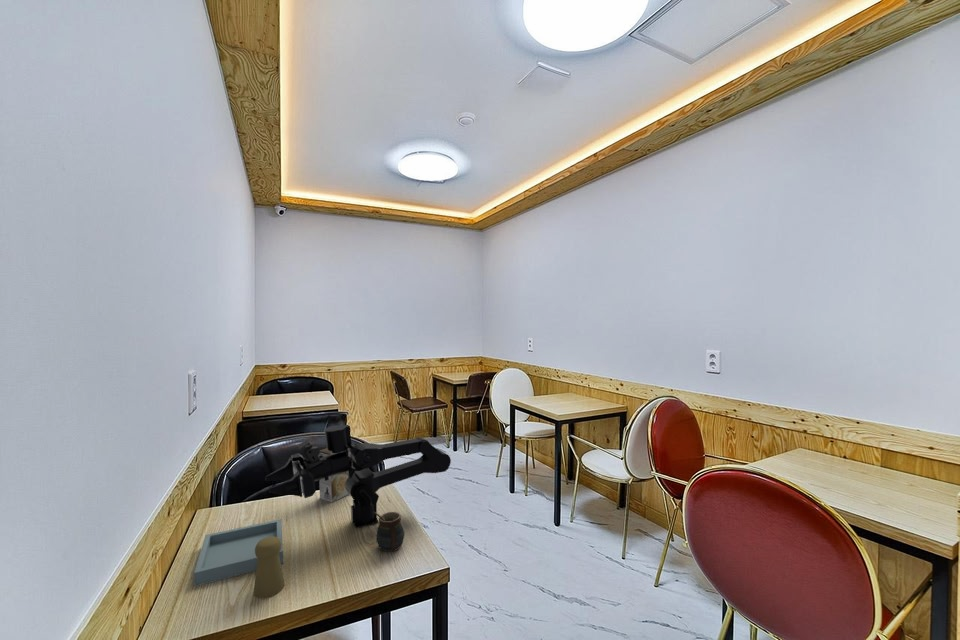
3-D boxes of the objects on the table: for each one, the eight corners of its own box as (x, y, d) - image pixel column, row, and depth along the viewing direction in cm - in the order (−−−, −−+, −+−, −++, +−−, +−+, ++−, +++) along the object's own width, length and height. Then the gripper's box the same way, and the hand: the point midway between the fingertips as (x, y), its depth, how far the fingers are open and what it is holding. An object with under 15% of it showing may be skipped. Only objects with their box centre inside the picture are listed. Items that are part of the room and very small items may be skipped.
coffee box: (341, 488, 145) (340, 442, 144) (354, 492, 141) (353, 445, 141) (318, 498, 137) (318, 450, 137) (331, 503, 133) (330, 453, 133)
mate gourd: (408, 549, 107) (407, 511, 106) (379, 558, 103) (378, 519, 103) (399, 536, 113) (398, 500, 113) (372, 544, 109) (371, 507, 109)
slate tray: (281, 529, 117) (281, 519, 117) (283, 563, 101) (282, 551, 101) (205, 546, 109) (205, 534, 109) (194, 586, 93) (194, 572, 93)
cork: (271, 600, 88) (270, 549, 88) (246, 596, 89) (245, 546, 89) (290, 582, 94) (289, 534, 94) (266, 579, 95) (265, 531, 95)
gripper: (318, 430, 123) (260, 445, 115) (333, 446, 108) (266, 465, 99) (323, 466, 124) (265, 483, 116) (338, 488, 108) (272, 509, 100)
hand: (267, 484), depth 108 cm, fingers open, 9 cm apart
